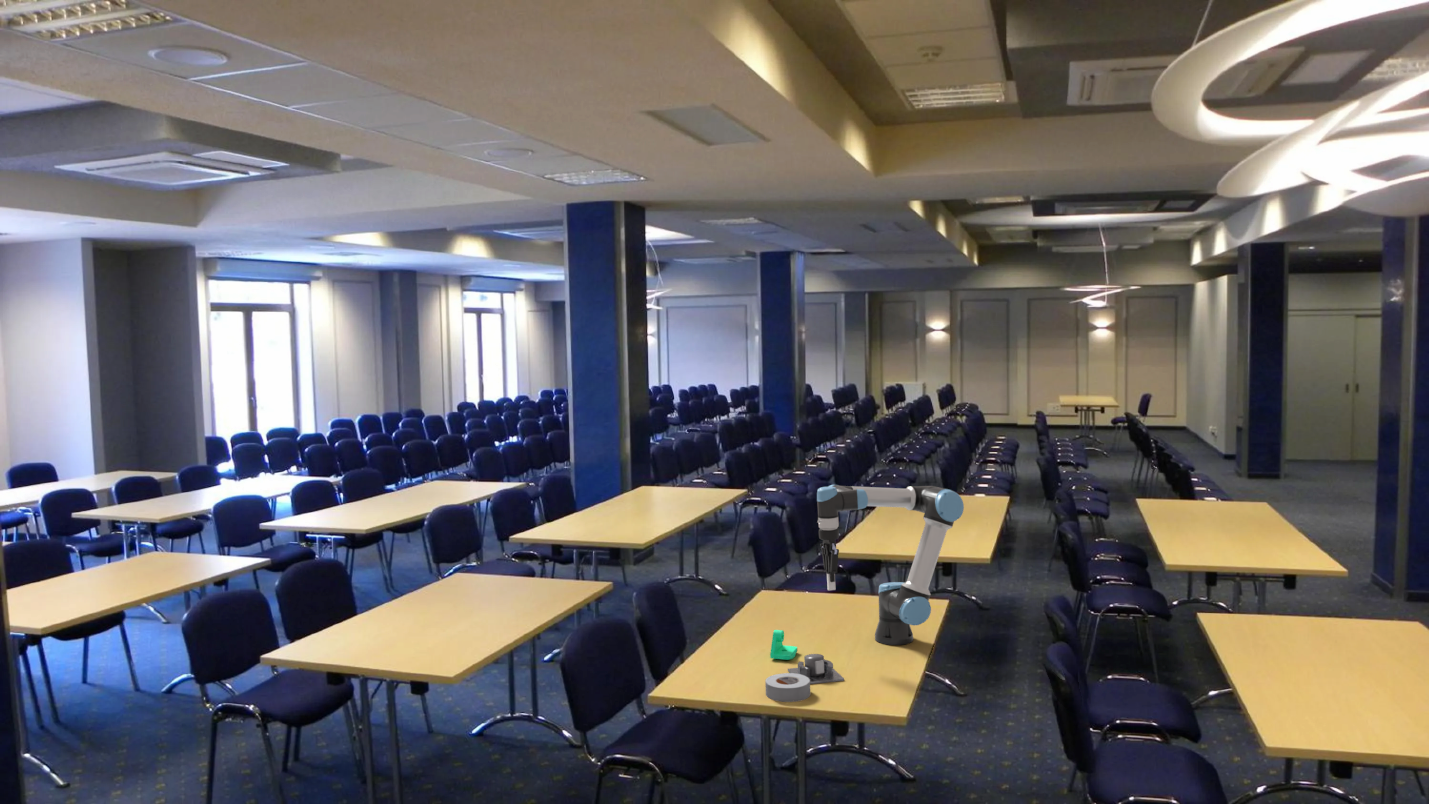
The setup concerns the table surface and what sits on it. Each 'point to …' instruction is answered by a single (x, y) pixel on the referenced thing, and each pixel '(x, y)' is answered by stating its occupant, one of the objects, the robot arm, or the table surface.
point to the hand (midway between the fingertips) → (831, 589)
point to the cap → (815, 664)
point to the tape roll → (787, 687)
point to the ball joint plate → (828, 676)
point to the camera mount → (781, 647)
